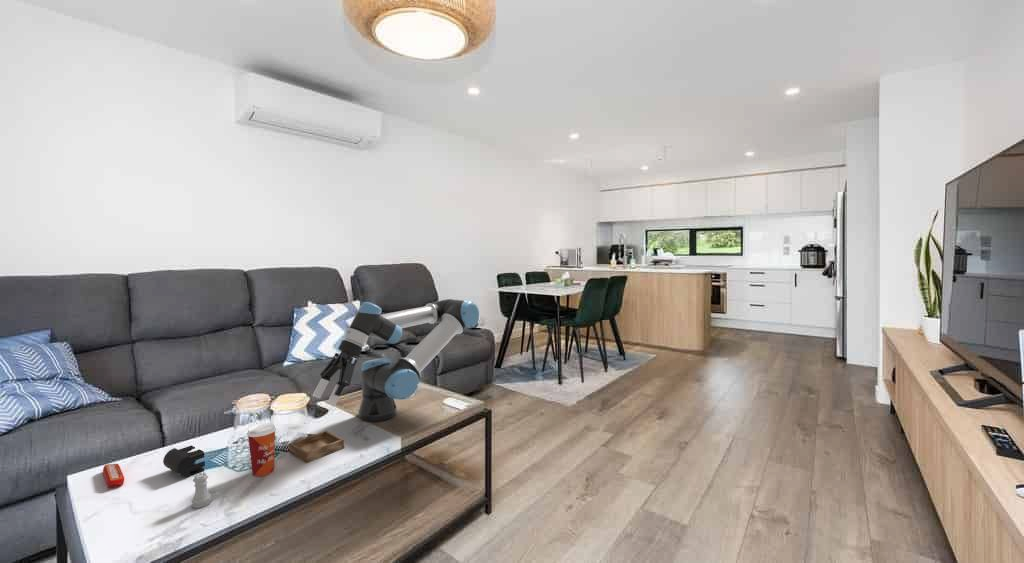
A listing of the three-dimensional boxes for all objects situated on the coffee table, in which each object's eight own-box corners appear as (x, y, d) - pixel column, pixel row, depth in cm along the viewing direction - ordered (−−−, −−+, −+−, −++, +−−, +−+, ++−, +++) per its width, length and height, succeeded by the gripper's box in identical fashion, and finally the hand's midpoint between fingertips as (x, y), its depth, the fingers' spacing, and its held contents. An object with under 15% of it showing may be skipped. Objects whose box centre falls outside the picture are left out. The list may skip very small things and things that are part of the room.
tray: (326, 438, 149) (326, 430, 149) (344, 448, 142) (344, 439, 142) (289, 452, 139) (288, 443, 139) (306, 463, 132) (305, 453, 132)
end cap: (163, 473, 126) (162, 451, 126) (190, 463, 132) (189, 442, 132) (178, 482, 121) (177, 459, 121) (206, 471, 127) (204, 450, 127)
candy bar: (125, 486, 119) (125, 476, 119) (108, 492, 116) (107, 482, 116) (118, 468, 130) (117, 459, 130) (102, 473, 127) (101, 463, 127)
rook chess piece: (189, 510, 107) (187, 481, 107) (194, 501, 111) (192, 472, 111) (209, 506, 109) (208, 477, 109) (214, 497, 113) (212, 469, 113)
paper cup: (264, 479, 122) (262, 433, 121) (242, 477, 124) (240, 431, 123) (284, 466, 130) (282, 422, 129) (263, 464, 131) (261, 421, 130)
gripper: (330, 336, 154) (300, 391, 147) (359, 341, 137) (326, 404, 129) (347, 344, 159) (319, 397, 151) (377, 350, 141) (347, 411, 133)
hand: (323, 401), depth 140 cm, fingers open, 13 cm apart
